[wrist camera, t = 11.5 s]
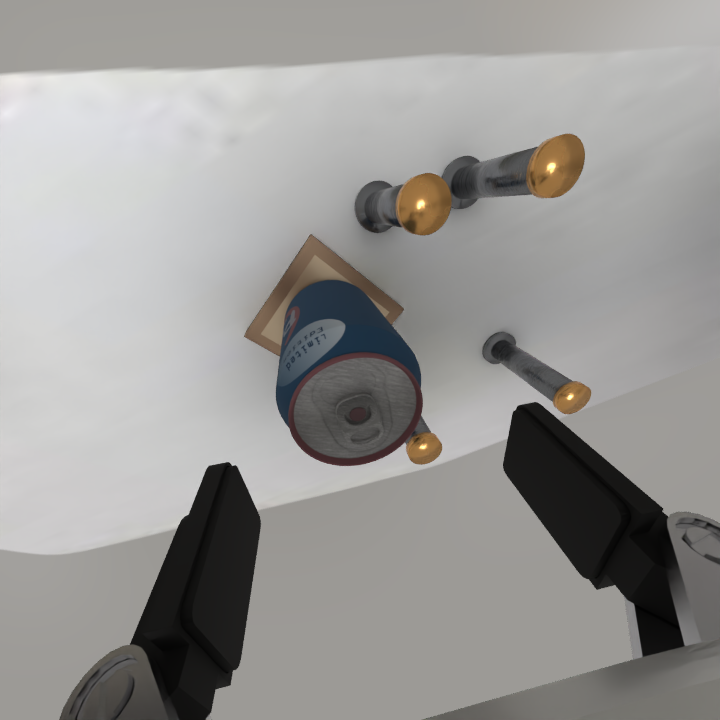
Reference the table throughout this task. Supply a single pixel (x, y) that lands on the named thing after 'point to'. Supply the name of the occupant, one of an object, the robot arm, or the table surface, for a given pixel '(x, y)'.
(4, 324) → the table surface
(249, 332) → the walnut coaster
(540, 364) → the post
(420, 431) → the post
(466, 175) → the post
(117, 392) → the table surface
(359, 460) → the soda can
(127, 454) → the table surface
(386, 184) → the post
